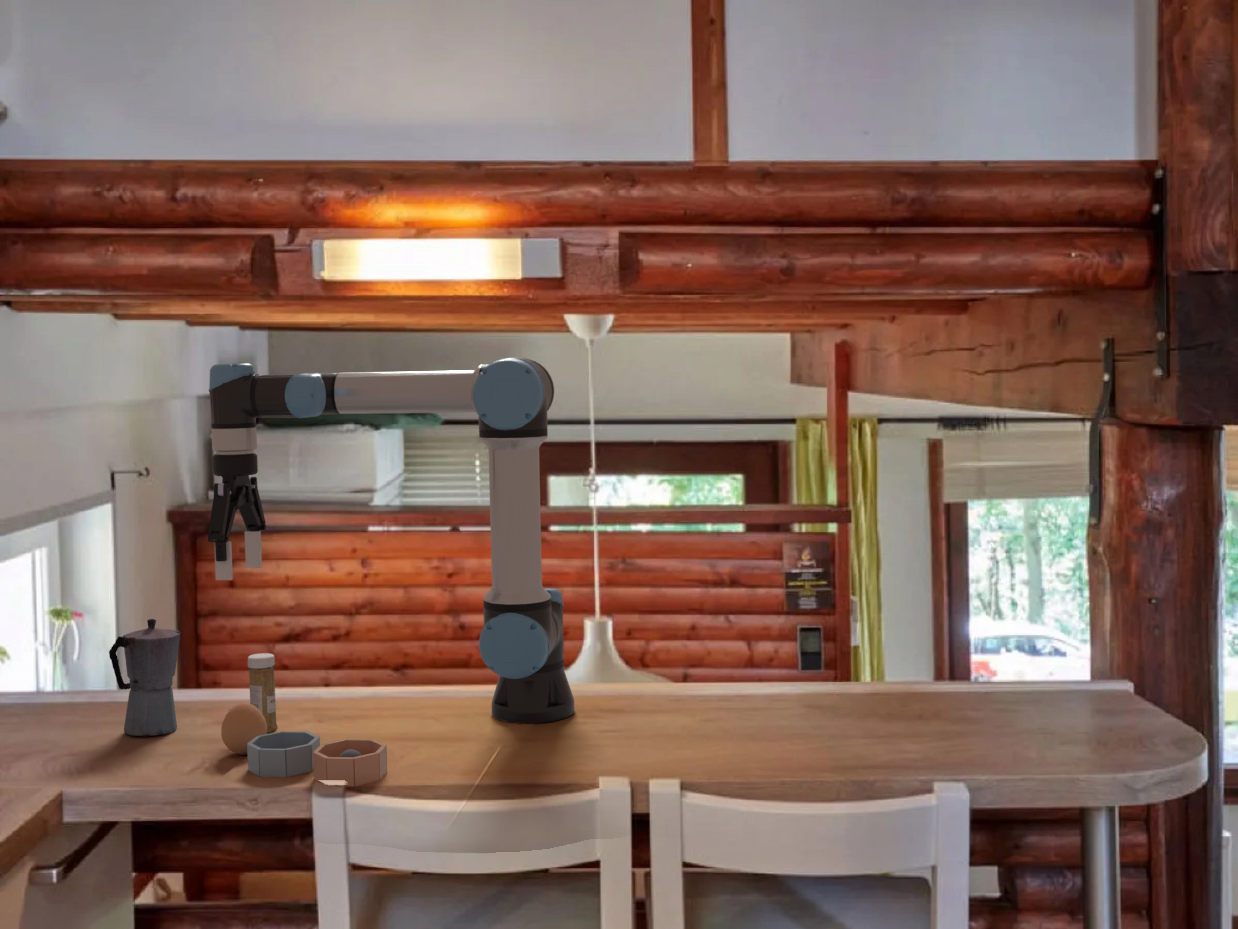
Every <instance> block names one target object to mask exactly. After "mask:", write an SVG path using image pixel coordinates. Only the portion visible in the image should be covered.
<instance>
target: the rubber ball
mask: <svg viewBox="0 0 1238 929" xmlns="http://www.w3.org/2000/svg"><path fill="white" fill-rule="evenodd" d="M357 756H362V755H361V753H360V752H358V751H356V750H353V749H349V750H346V751H344V752H342V753H341V754H340V756H339V757H357Z"/></svg>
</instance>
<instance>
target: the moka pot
mask: <svg viewBox="0 0 1238 929" xmlns="http://www.w3.org/2000/svg"><path fill="white" fill-rule="evenodd" d="M156 623H157V620H156V619H154V618H150V619H147V626H148V627H147V628H143V629H139V630H134V631H131V632H129V633H126V634H124V635H122V636H117V639H116V640H115V642H114V643H113V644H112V646H111V648H110V650H108V655H109V660H110V661H111V665H112V669H113V671H114V672H113V673H114V675H115V678H116V679H115V680H116V683H117V685H118V689H119V690H123V691H124V690H129V692H128V699H127V707H126V713H125V718H124V725H123V732H124V733H125V734H127V735H129V736H136V737H149V736H150V737H151V736H152V737H153V736H160V735H161V736H162V735H166V734H169V733H173V732H176V730H177V729H178V722H177V717H176V707H175V699H174V698H175V697H174V691H173V687H172V686H173V680H174V679H173V678H174V676H176V670H177V660H178V653H179V644H180V636H181V635H182V632H181V631H179V630H178V629H162V628H157V627H156ZM119 648H124V657H125V659H124V660H125V665H126V676H127V677H128V679H129V683H128V682H127V683H125V681H124V679H123V676H122V672H121V668H120V664H119V659H118V658H119V657H118V655H117V652H118V650H119Z"/></svg>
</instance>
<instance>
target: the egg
mask: <svg viewBox="0 0 1238 929" xmlns="http://www.w3.org/2000/svg"><path fill="white" fill-rule="evenodd" d="M223 718H224V719H223V721H222V722H221V730H220V731H221V732H220V733H221V739H222V742H223V744H224V746H226V748H227V749H228V750H230V751H231V752H232V753H234V754H237V755H242V756H244V755H247V756H248V753H247V743H249V742H250V741H251V740H253V739H254V738H255V737H256V736H260V735H265V734H268V733H267V723H266V720H265V718H264V716H263V714H262V713H261V711H260V710H259V709H258V708H257V707H255V706H254V705H252V704H250V702H249V703H248V702H240V703H238V704H236V705H234V706H232V708H230V709H229V710H228V712H227V713H226V714H225V716H224V717H223Z"/></svg>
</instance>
